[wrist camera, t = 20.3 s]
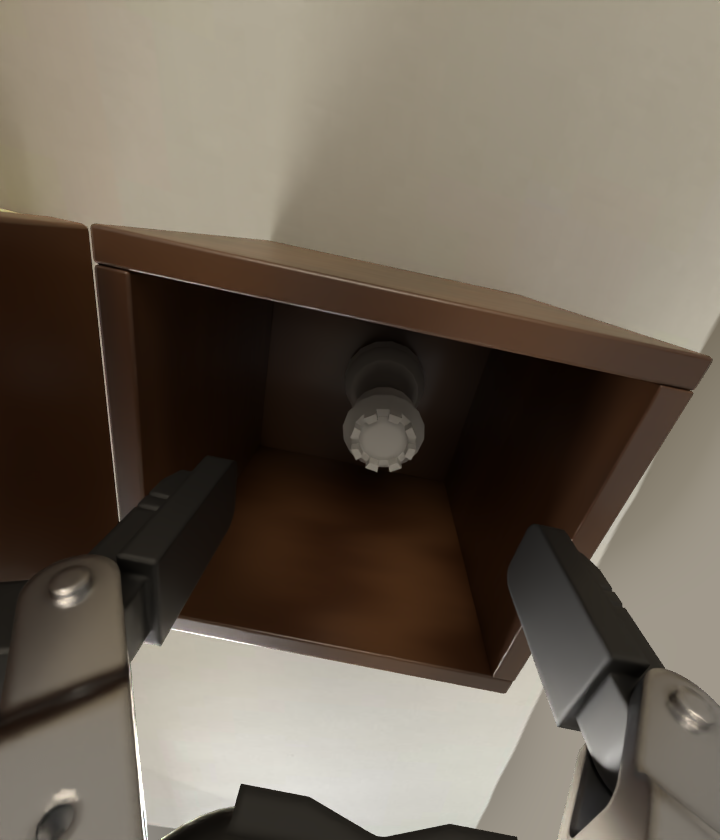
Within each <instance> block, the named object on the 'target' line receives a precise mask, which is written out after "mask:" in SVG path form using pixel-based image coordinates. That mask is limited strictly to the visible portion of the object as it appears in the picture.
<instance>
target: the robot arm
mask: <svg viewBox="0 0 720 840" xmlns="http://www.w3.org/2000/svg"><path fill="white" fill-rule="evenodd" d="M237 470H238V465H237V462H236V461H234V460H230V459H225V458H220V457H215V456H210V455H207V456H205V457H204V458H203V459H202V460H201V461H200V463H199V464H198V465H197V466H196V467H195V468H194V469H193V470H192V471H187V470H180V471H178V472H176V473H174V474H172V475H170V476H168V477H166V478H164V479H162V480H161V481H160V482H159V483H158V484H157V485H156V486H155V487H154V488H153V489H152V490H151V491H150V492H149V495H146V496H145V497H144V498H143V499H142V500H141V501H140V502H139V503H138V505H137V507H134V508H133V509H132V510H131V511H130V512H129V513H128V514H127V515H126V516H125V517H124V518H123V519H122V520H121V521H120V522H119V523H118V524H117V525H116V526H115V527H114V528H113V529H112V530H111V531H110V532H109V533H108V534H107V535H106V536H105V537H104V538H103V539H102V540H101V541H100V542H99V543H98V544H97V545H96V546H95V547H94V548H93V549H92V550H91V551H90V552H89V553H88V554H86V555H78V556H72V557H69V558H65V559H62V560H60V561H57V562H55V563H53V564H51V565H49V566H47V567H45V568H44V569H42V570H40V571H39V572H38V573H36V574H35V575H34V576H33V577H32V578H31V579H29V580H22V581H8V582H0V840H148V836H147V826H146V815H145V805H144V796H143V786H142V776H141V767H140V757H139V746H138V736H137V726H136V715H135V705H134V695H133V684H132V674H131V664H130V663H131V661H132V660H133V658H134V656H135V655H136V653H137V652H138V650H139V649H140V647H141V645H142V644H143V643H147V644H152V645H157V646H161V645H162V643H163V642H164V640H165V638H166V636H167V635H168V633H169V631H170V629H171V628H172V626H173V624H174V623H175V621H176V619H177V617H178V616H179V614H180V612H181V610H182V609H183V607H184V605H185V604H186V602H187V600H188V598H189V597H190V595H191V593H192V591H193V590H194V588H195V586H196V585H197V583H198V581H199V579H200V578H201V576H202V574H203V573H204V571H205V569H206V567H207V566H208V564H209V562H210V560H211V559H212V557H213V555H214V554H215V552H216V550H217V548H218V547H219V545H220V543H221V541H222V540H223V538H224V536H225V535H226V533H227V531H228V529H229V527H230V525H231V522H232V519H233V515H234V511H235V501H236V485H237ZM507 584H508V588H509V591H510V594H511V597H512V600H513V603H514V606H515V608H516V611H517V614H518V617H519V620H520V622H521V625H522V628H523V631H524V634H525V637H526V639H527V642H528V645H529V648H530V651H531V654H532V656H533V659H534V662H535V665H536V668H537V670H538V673H539V676H540V679H541V682H542V685H543V687H544V690H545V693H546V696H547V699H548V701H549V704H550V707H551V710H552V713H553V715H554V718H555V721H556V724H557V727H561V728H566V729H571V730H576V731H581V732H582V735H583V737H584V740H585V742H586V743H585V744H584V745H583V747H582V748H581V749H580V751H579V754H578V757H577V761H576V765H575V769H574V774H573V778H572V782H571V786H570V790H569V794H568V798H567V802H566V806H565V811H564V814H563V818H562V822H561V826H560V831H559V835H558V839H557V840H720V706H719V705H718V704H717V703H716V702H715V701H714V700H713V699H712V698H711V697H710V696H709V695H708V694H707V693H706V692H704V691H703V690H702V689H701V688H699V687H698V686H697V685H695V684H694V683H693V682H691V681H690V680H688V679H686V678H685V677H683V676H681V675H679V674H677V673H675V672H673V671H670V670H666V669H665V667H664V666H663V664H662V663H661V661H660V660H659V658H658V657H657V656H656V654H655V652H654V651H653V649H652V648H651V647H650V645H649V643H648V642H647V640H646V639H645V637H644V636H643V634H642V633H641V631H640V630H639V628H638V627H637V625H636V624H635V622H634V621H633V619H632V618H631V616H630V615H629V613H628V612H627V610H626V609H625V608H623V607H622V603H621V601H620V600H619V598H618V597H617V595H616V594H615V592H612V588H611V586H610V584H609V583H608V582H607V580H606V578H605V577H604V575H603V574H602V573H601V571H600V570H599V569H598V568H597V567H596V566H595V565H594V564H593V563H592V562H591V561H590V560H589V559H588V558H587V557H586V556H585V555H584V554H583V553H580V552H579V551H578V550H577V548H576V546H575V545H574V543H573V542H572V540H571V539H570V537H569V535H568V534H567V533H566V531H564V530H563V529H559V528H554V527H549V526H544V525H540V524H535V523H534V524H531V525H530V526H529V527H528V528H527V530H526V532H525V534H524V536H523V538H522V540H521V542H520V544H519V546H518V548H517V550H516V552H515V554H514V556H513V558H512V560H511V562H510V564H509V567H508V572H507ZM160 840H517V837H515V836H510V835H504V834H499V833H494V832H489V831H484V830H478V829H473V828H468V827H463V826H458V825H453V824H447V825H442V826H437V827H432V828H427V829H422V830H418V831H413V832H408V833H403V834H398V835H393V836H388V837H379V836H376V835H373V834H371V833H370V832H368V831H366V830H364V829H363V828H361V827H359V826H358V825H356V824H354V823H353V822H351V821H349V820H348V819H346V818H344V817H343V816H341V815H339V814H337V813H336V812H334V811H332V810H331V809H329V808H327V807H326V806H324V805H322V804H321V803H319V802H317V801H315V800H314V799H312V798H310V797H307V796H302V795H297V794H292V793H286V792H281V791H276V790H271V789H266V788H260V787H255V786H250V785H245V784H241V786H240V789H239V793H238V796H237V800H236V803H235V806H233V807H228V808H223V809H219V810H216V811H213V812H210V813H207V814H204V815H201V816H199V817H197V818H195V819H193V820H191V821H189V822H187V823H185V824H183V825H181V826H180V827H178V828H177V829H175V830H174V831H172V832H171V833H169V834H168V835H167V836H165V837H163V838H162V839H160Z"/></svg>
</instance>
